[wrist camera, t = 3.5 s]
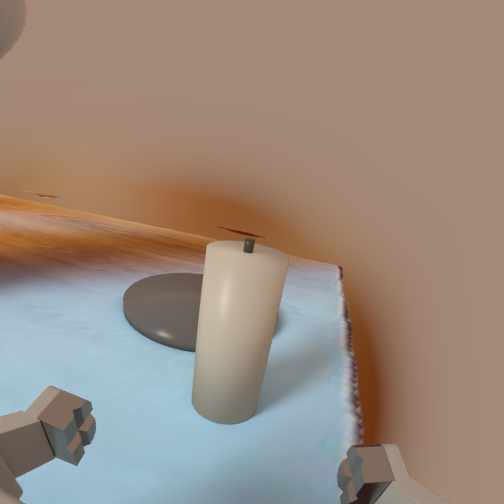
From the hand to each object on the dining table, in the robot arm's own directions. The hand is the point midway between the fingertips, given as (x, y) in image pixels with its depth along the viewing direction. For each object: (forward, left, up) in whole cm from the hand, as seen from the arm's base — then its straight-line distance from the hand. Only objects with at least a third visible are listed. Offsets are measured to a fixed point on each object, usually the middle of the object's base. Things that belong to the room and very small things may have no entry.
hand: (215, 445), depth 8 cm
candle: (-8, +10, -9) cm, 15 cm away
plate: (-21, +19, -9) cm, 29 cm away
